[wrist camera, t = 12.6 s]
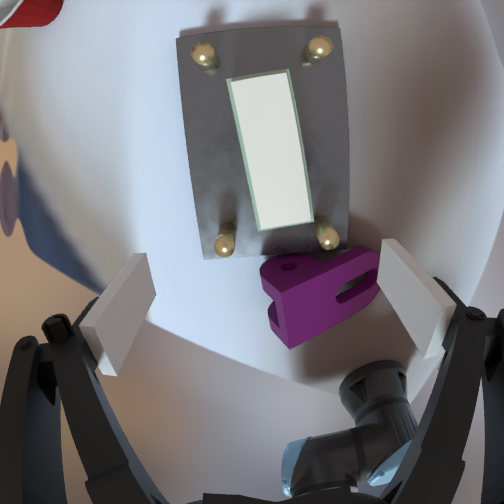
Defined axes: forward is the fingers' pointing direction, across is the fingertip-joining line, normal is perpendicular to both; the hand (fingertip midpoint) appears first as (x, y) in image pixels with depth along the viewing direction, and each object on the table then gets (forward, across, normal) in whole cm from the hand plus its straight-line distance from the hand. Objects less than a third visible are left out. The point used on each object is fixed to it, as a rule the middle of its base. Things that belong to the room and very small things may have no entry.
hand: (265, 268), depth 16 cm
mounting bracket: (+25, -9, +15) cm, 30 cm away
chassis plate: (+24, -1, -5) cm, 24 cm away
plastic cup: (+23, +30, -34) cm, 51 cm away
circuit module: (+22, -1, -5) cm, 23 cm away
